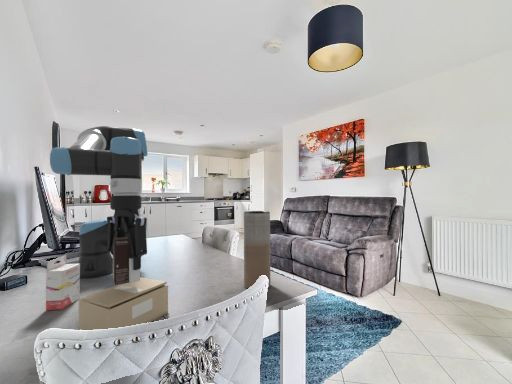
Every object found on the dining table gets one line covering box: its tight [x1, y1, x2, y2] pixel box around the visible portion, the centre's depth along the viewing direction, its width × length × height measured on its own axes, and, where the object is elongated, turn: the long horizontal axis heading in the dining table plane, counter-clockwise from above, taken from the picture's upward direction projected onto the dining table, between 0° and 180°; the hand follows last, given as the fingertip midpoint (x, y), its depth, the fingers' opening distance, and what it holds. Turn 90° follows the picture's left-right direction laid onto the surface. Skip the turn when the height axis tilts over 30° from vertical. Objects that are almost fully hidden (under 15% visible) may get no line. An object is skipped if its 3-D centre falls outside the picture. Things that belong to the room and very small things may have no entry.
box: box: [112, 236, 136, 286], centre depth 67 cm, size 6×4×12 cm
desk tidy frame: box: [38, 251, 80, 267], centre depth 127 cm, size 20×20×2 cm
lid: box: [80, 276, 168, 308], centre depth 66 cm, size 11×17×1 cm
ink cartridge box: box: [45, 255, 81, 311], centre depth 78 cm, size 9×5×15 cm, turn 5°
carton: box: [78, 284, 169, 330], centre depth 66 cm, size 13×17×8 cm
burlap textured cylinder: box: [243, 210, 271, 289], centre depth 92 cm, size 10×10×28 cm
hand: (126, 279), depth 67 cm, fingers closed on box, 6 cm apart
